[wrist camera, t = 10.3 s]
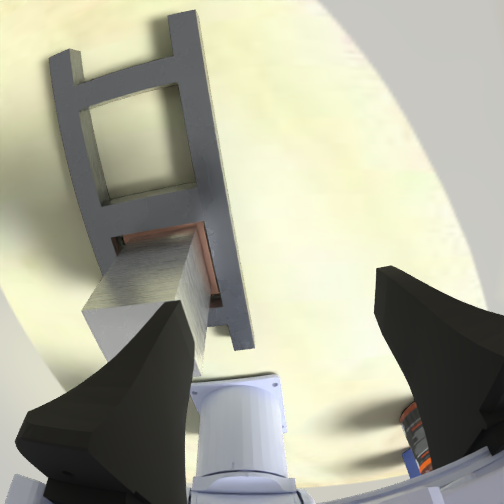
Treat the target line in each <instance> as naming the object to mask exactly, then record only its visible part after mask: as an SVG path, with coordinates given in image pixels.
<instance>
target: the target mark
mask: <svg viewBox="0 0 504 504" xmlns="http://www.w3.org/2000/svg"><path fill="white" fill-rule="evenodd" d="M194 226H197V230H198V235H199V239H200V243H201V247H202V251H203V256H204V260H205V264H206V268H207V272H208V276H209V280H210V284H211V295H213V294H219V288H218V284H217V280H216V275H215V271H214V267H213V262H212V258H211V253H210V249H209V244H208V240H207V235H206V230H205V226H204V221H201V222H195V223H189V224H183V225H177V226H172V227H166V228H160V229H155V230H149V231H143V232H138V233H132V234H127V235H123V238H124V242H125V244H126V243H127V242H128V240H129V239H130V238H133V237H138V236H144V235H149V234H155V233H160V232H166V231H171V230H177V229H183V228H189V227H194Z"/></svg>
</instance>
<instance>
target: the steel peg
mask: <svg viewBox="0 0 504 504" xmlns="http://www.w3.org/2000/svg"><path fill="white" fill-rule="evenodd" d="M210 296H211V284H210V280H209V276H208V272H207V268H206V264H205V260H204V256H203V251H202V247H201V243H200V239H199V235H198V230H197V226H194V227H189V228H183V229H177V230H171V231H166V232H160V233H155V234H149V235H144V236H138V237H133V238H130V239H129V240H128V242H127V243H126V244H125V246H124V247H123V249H122V250H121V251H120V253H119V254H118V256H117V257H116V259H115V260H114V262H113V263H112V264H111V266H110V267H109V269H108V270H107V272H106V273H105V275H104V276H103V278H102V279H101V281H100V282H99V284H98V285H97V287H96V288H95V290H94V291H93V293H92V295H91V296H90V298H89V299H88V301H87V302H86V304H85V306H84V307H83V309H82V310H81V311H82V313H83V315H84V317H85V320H86V322H87V324H88V326H89V328H90V330H91V332H92V334H93V335H94V337H95V339H96V341H97V343H98V345H99V347H100V349H101V351H102V352H103V354H104V356H105V358H106V360H107V362H109V361H110V360H111V359H113V358H114V357H115V356H116V355H117V354H118V353H119V352H120V351H121V350H122V349H123V348H124V347H125V346H126V345H127V344H128V343H129V341H130V340H131V339H132V338H133V337H134V336H135V335H136V334H137V333H138V332H139V331H140V330H141V328H142V327H143V326H144V325H145V324H146V323H147V322H148V320H149V319H150V318H151V317H152V316H153V315H154V313H155V312H156V311H157V310H158V309H159V308H160V307H161V305H162V304H163V303H164V302H168V301H176V300H181V303H182V306H183V309H184V312H185V315H186V318H187V321H188V324H189V327H190V330H191V332H192V335H193V338H194V341H195V357H194V370H193V376H192V377H197V376H202V367H203V357H204V348H205V339H206V330H207V321H208V312H209V304H210Z"/></svg>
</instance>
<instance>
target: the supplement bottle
mask: <svg viewBox="0 0 504 504" xmlns="http://www.w3.org/2000/svg"><path fill="white" fill-rule="evenodd" d="M400 423H401V425H402V429H403V431H404V433H405V436H406V438H407V441H408V443H409V445H410V448H411V450H412V453H413V455H414V458H415V460H416V463H417V466H418V468H419V470H420V473H421V475H423V474H425V473H428V472H431V471H433V469H432V463H431V458H430V453H429V448H428V444H427V440H426V436H425V432H424V428H423V425H422V421H421V418H420V415H419V412H418V409H417V406H416V403H415V402H413V403H412V404H411V405H410V406H409V407H408V408H407V409H406V410H405V411H404V412H403V414H402V415H401V418H400Z"/></svg>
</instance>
